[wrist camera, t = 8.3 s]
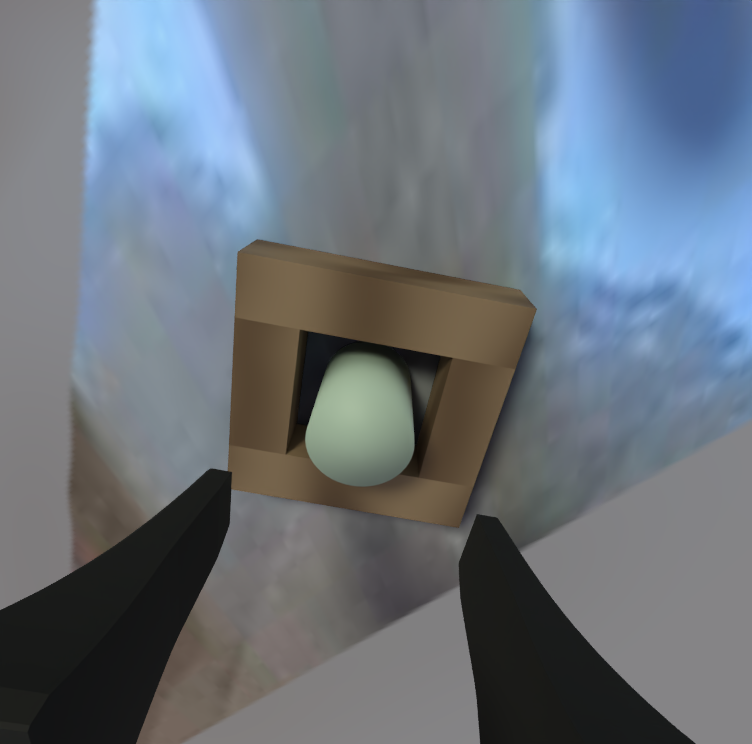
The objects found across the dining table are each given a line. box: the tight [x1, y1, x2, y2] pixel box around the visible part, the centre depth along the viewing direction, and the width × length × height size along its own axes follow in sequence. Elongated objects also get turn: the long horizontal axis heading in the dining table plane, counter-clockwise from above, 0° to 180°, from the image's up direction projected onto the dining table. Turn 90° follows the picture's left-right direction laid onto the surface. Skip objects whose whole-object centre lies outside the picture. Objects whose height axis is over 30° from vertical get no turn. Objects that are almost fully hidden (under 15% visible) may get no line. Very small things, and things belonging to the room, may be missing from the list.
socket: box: [228, 239, 537, 528], centre depth 20 cm, size 11×11×2 cm
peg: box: [305, 341, 414, 487], centre depth 19 cm, size 4×4×5 cm
